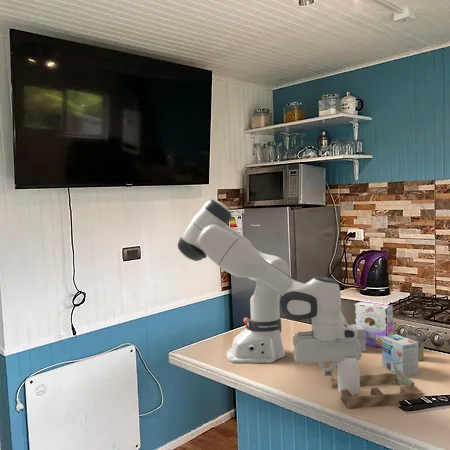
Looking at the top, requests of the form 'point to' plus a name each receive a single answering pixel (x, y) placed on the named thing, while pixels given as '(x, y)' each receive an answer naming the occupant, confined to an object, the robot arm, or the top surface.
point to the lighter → (420, 342)
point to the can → (349, 375)
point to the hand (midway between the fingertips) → (327, 375)
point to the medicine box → (360, 336)
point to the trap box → (377, 396)
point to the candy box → (374, 321)
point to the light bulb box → (400, 354)
